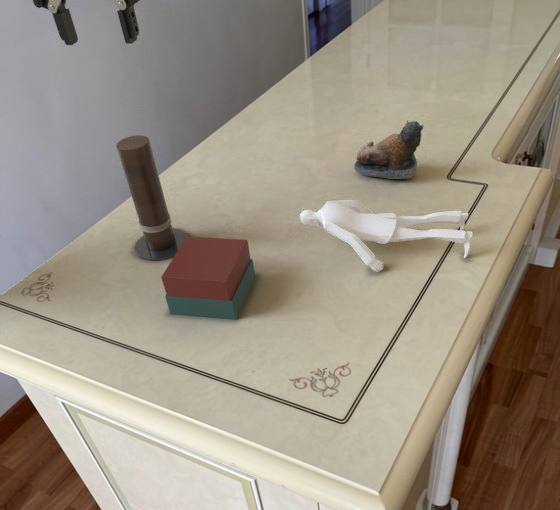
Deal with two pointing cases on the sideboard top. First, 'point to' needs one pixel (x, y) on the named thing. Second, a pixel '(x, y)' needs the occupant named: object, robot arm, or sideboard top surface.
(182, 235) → the coaster
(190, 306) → the red and teal box
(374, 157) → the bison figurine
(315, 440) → the sideboard top surface
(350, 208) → the male figurine
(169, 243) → the pepper mill
